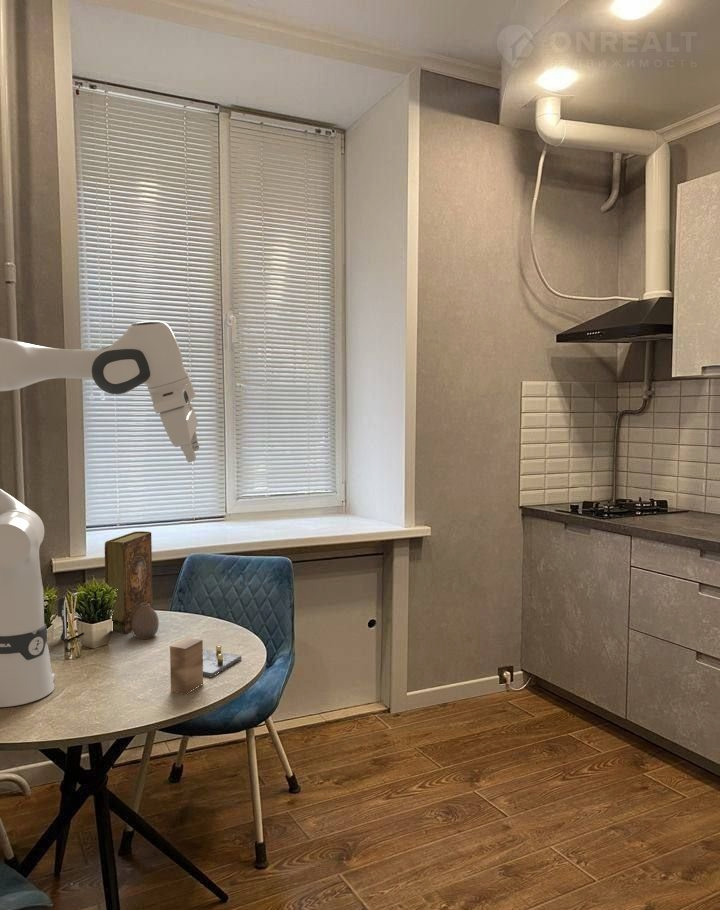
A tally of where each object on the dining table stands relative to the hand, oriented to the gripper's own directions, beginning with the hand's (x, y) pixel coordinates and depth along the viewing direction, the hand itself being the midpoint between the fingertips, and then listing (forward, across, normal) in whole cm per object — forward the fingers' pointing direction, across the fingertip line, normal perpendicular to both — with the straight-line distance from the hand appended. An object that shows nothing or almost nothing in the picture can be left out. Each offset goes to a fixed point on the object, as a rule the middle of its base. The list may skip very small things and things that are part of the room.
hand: (194, 455), depth 151 cm
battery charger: (+43, -26, -50) cm, 71 cm away
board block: (+46, +12, -16) cm, 51 cm away
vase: (+48, -23, -31) cm, 62 cm away
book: (+49, -34, -37) cm, 70 cm away
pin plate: (+50, -1, -13) cm, 51 cm away
